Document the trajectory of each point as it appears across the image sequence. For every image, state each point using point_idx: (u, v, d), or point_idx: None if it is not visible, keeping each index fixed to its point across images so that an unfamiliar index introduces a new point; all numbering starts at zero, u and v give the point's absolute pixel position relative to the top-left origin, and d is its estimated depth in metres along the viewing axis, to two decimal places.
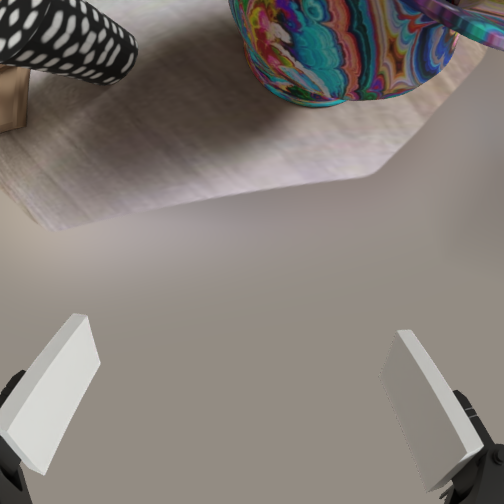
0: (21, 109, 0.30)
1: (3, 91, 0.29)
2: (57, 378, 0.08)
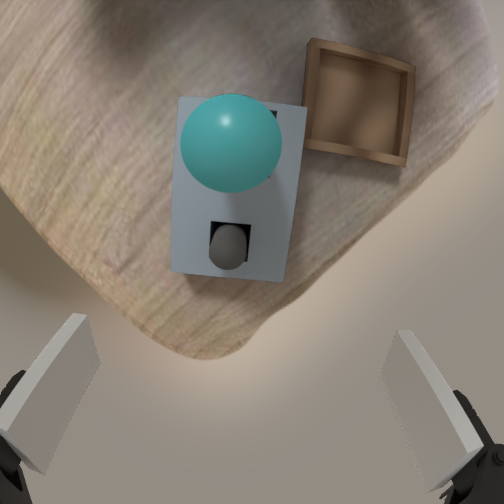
0: None
1: (349, 99, 0.28)
2: (57, 378, 0.08)
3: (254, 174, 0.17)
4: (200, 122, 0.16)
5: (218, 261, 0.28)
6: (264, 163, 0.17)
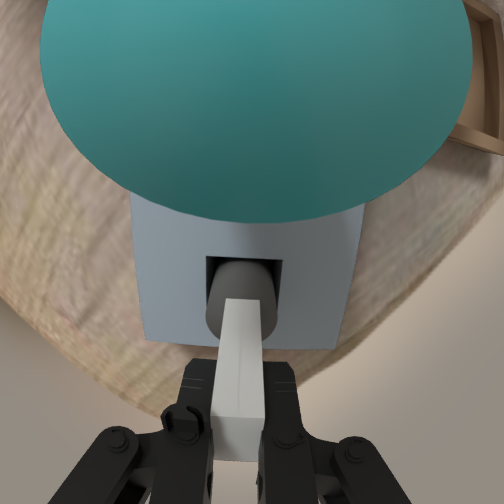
0: None
1: None
2: None
3: (386, 130, 0.03)
4: None
5: None
6: (424, 84, 0.03)
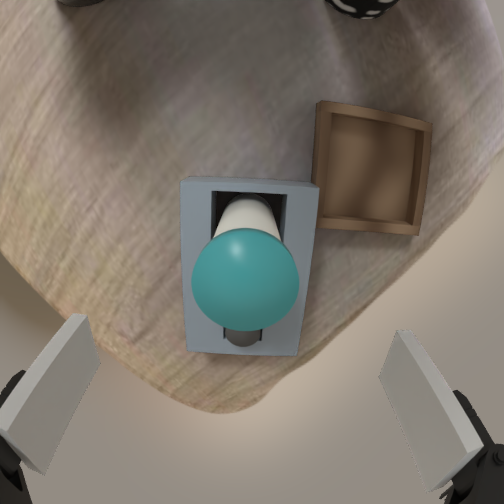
0: None
1: (362, 166, 0.28)
2: (57, 378, 0.08)
3: (271, 314, 0.17)
4: (211, 266, 0.16)
5: (234, 340, 0.29)
6: (281, 304, 0.16)
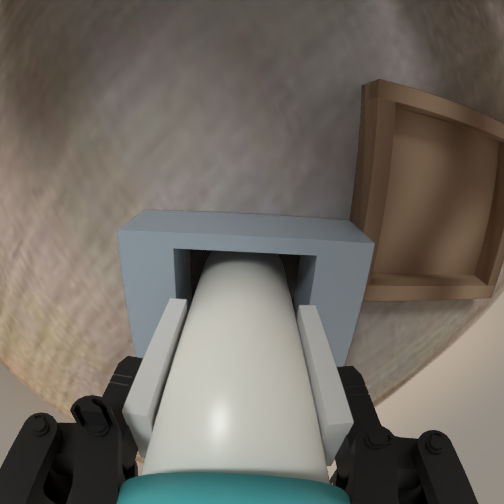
0: None
1: (430, 196, 0.16)
2: (172, 359, 0.10)
3: None
4: None
5: None
6: None
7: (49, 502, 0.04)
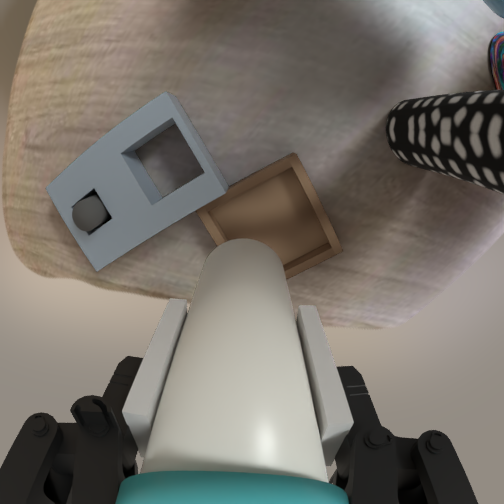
0: None
1: (268, 217, 0.34)
2: (172, 359, 0.10)
3: None
4: None
5: (75, 214, 0.28)
6: None
7: (49, 502, 0.04)
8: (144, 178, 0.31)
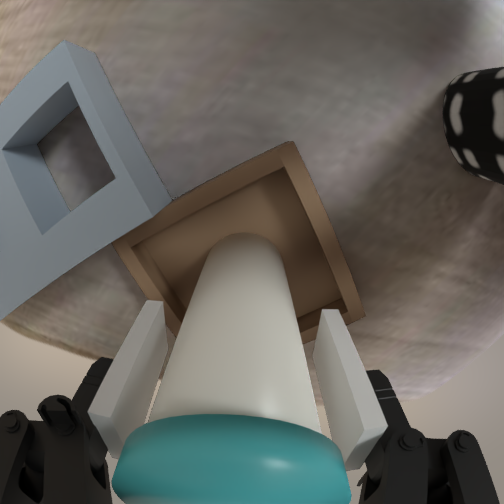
0: None
1: None
2: (144, 362, 0.10)
3: None
4: (150, 487, 0.05)
5: None
6: None
7: (25, 497, 0.04)
8: (40, 188, 0.16)
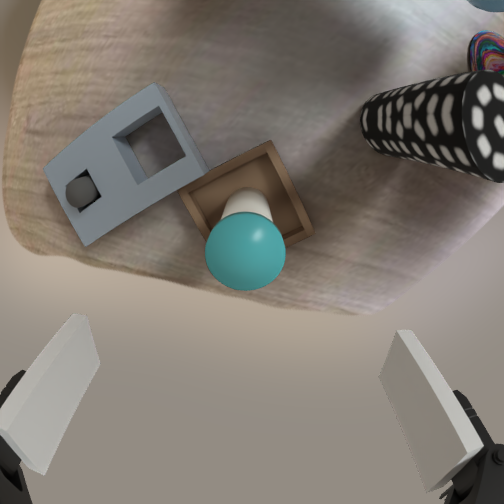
0: None
1: None
2: (57, 378, 0.08)
3: (263, 278, 0.22)
4: (221, 237, 0.21)
5: (68, 192, 0.30)
6: (271, 270, 0.22)
7: None
8: (132, 161, 0.33)
